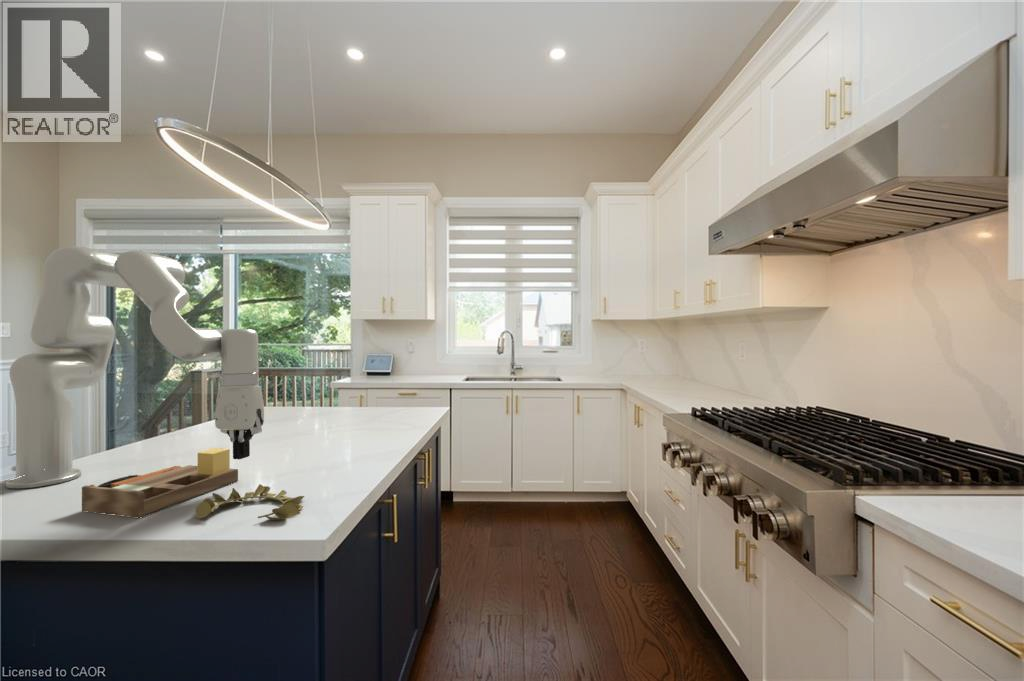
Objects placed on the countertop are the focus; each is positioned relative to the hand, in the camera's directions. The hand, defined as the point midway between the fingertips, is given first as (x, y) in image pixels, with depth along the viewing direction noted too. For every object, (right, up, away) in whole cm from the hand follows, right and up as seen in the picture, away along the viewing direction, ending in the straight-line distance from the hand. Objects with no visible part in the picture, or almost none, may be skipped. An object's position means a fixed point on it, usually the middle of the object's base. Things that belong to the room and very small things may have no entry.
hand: (241, 457), depth 103 cm
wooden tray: (-13, -7, -5) cm, 16 cm away
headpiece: (+12, -8, -13) cm, 19 cm away
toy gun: (-28, -8, +4) cm, 30 cm away
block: (-8, -4, +2) cm, 9 cm away
